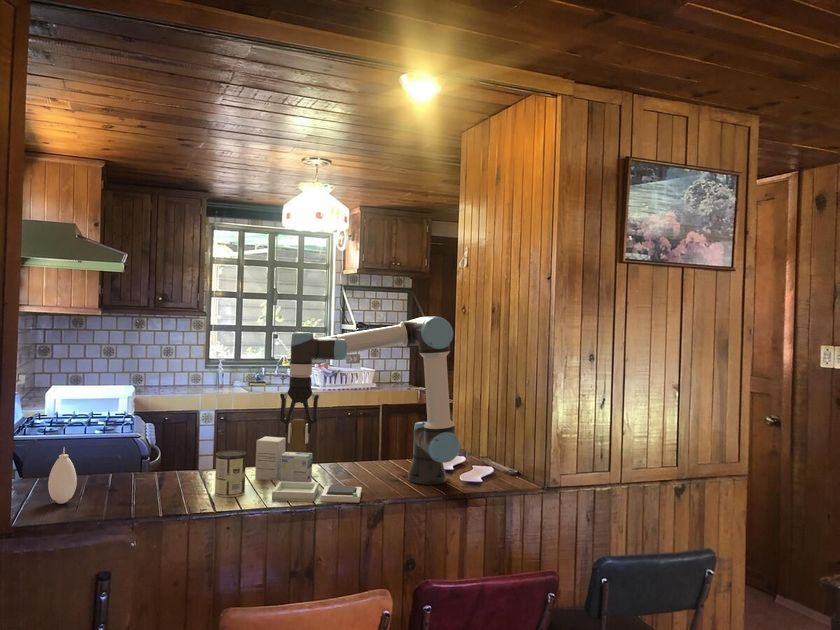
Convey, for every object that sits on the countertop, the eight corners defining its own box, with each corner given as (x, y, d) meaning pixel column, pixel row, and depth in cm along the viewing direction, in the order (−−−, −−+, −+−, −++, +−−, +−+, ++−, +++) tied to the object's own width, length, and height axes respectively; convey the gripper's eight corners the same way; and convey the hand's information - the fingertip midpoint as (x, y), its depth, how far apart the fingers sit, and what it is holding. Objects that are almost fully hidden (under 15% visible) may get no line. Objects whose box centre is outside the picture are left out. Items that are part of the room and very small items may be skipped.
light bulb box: (312, 480, 250) (313, 452, 251) (307, 485, 244) (308, 456, 244) (284, 479, 252) (285, 451, 252) (279, 483, 245) (280, 454, 245)
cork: (289, 448, 232) (291, 417, 232) (307, 448, 232) (308, 417, 232) (287, 451, 226) (289, 420, 226) (305, 452, 226) (306, 420, 226)
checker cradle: (361, 492, 236) (361, 484, 236) (359, 502, 223) (359, 494, 223) (325, 491, 236) (325, 483, 236) (320, 501, 223) (321, 493, 223)
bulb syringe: (56, 507, 204) (58, 450, 204) (42, 503, 208) (45, 446, 209) (80, 502, 211) (82, 446, 211) (66, 498, 215) (69, 443, 215)
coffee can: (228, 488, 235) (229, 449, 235) (251, 492, 231) (252, 452, 231) (207, 494, 226) (209, 453, 226) (231, 499, 221) (232, 457, 221)
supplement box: (263, 473, 258) (264, 436, 259) (285, 475, 257) (286, 437, 257) (254, 479, 249) (255, 439, 250) (276, 480, 248) (278, 441, 248)
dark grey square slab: (355, 490, 234) (355, 485, 234) (353, 497, 225) (354, 492, 225) (330, 489, 234) (330, 485, 234) (327, 496, 225) (327, 491, 225)
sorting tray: (318, 490, 236) (318, 482, 236) (313, 501, 222) (313, 492, 222) (279, 489, 236) (279, 481, 236) (271, 500, 222) (272, 491, 222)
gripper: (327, 376, 233) (325, 441, 233) (276, 374, 233) (273, 439, 232) (325, 377, 226) (322, 445, 225) (272, 376, 225) (269, 443, 225)
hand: (298, 442), depth 229 cm, fingers closed on cork, 5 cm apart
